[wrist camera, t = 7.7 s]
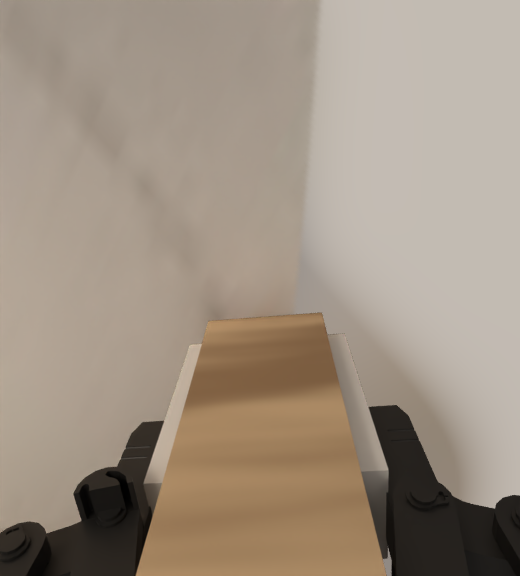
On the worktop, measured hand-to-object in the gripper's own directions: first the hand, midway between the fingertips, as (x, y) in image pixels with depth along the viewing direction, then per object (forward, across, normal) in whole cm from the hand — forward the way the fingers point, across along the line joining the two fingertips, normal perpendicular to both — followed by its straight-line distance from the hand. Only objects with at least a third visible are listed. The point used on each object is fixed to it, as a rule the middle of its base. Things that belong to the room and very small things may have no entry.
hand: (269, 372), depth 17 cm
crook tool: (0, -3, -9) cm, 9 cm away
